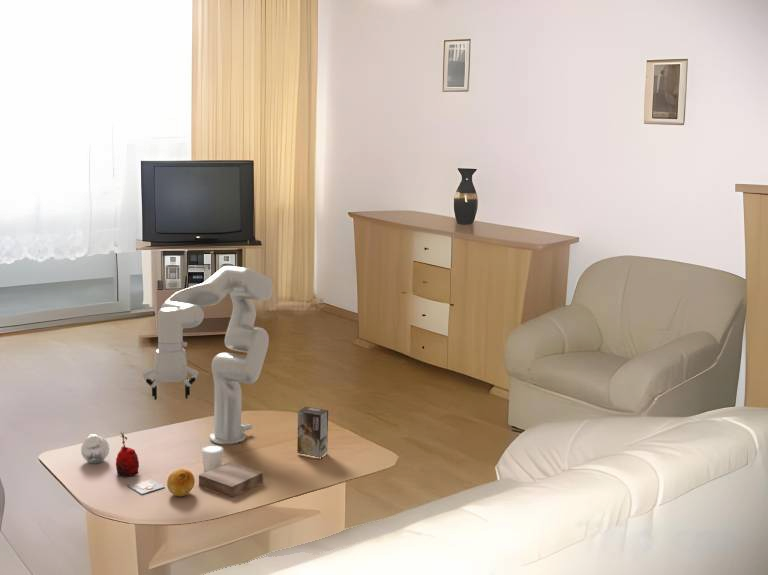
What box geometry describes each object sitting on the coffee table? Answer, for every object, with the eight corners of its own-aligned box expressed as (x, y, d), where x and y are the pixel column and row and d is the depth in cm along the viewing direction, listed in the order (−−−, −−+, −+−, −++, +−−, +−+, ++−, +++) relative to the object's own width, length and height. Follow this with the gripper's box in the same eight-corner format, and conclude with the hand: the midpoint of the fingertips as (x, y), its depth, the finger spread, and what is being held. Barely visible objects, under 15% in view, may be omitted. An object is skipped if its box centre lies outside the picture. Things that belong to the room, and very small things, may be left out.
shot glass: (197, 469, 288) (197, 449, 287) (211, 463, 294) (211, 443, 293) (214, 474, 285) (214, 454, 284) (227, 467, 291) (227, 447, 290)
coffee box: (328, 454, 306) (329, 410, 303) (320, 460, 301) (321, 415, 298) (304, 449, 310) (305, 405, 307) (296, 455, 304) (297, 411, 301)
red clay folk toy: (143, 473, 284) (143, 428, 281) (127, 480, 278) (126, 435, 275) (127, 467, 288) (126, 423, 285) (110, 474, 282) (109, 429, 279)
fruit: (192, 500, 266) (192, 475, 264) (165, 500, 265) (164, 475, 263) (196, 489, 274) (196, 464, 272) (169, 488, 273) (169, 464, 271)
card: (150, 480, 279) (150, 478, 279) (164, 487, 273) (164, 486, 273) (127, 486, 273) (127, 485, 273) (141, 495, 268) (141, 493, 268)
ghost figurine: (74, 464, 288) (73, 435, 287) (95, 455, 297) (94, 426, 295) (95, 470, 285) (94, 440, 283) (115, 460, 293) (115, 431, 291)
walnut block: (230, 473, 288) (230, 461, 287) (262, 484, 280) (262, 472, 279) (198, 487, 276) (198, 475, 276) (231, 499, 269) (231, 486, 268)
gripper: (198, 342, 285) (198, 393, 289) (142, 343, 281) (143, 395, 285) (198, 348, 278) (198, 400, 281) (141, 350, 274) (142, 402, 277)
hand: (171, 397), depth 283 cm, fingers open, 9 cm apart
